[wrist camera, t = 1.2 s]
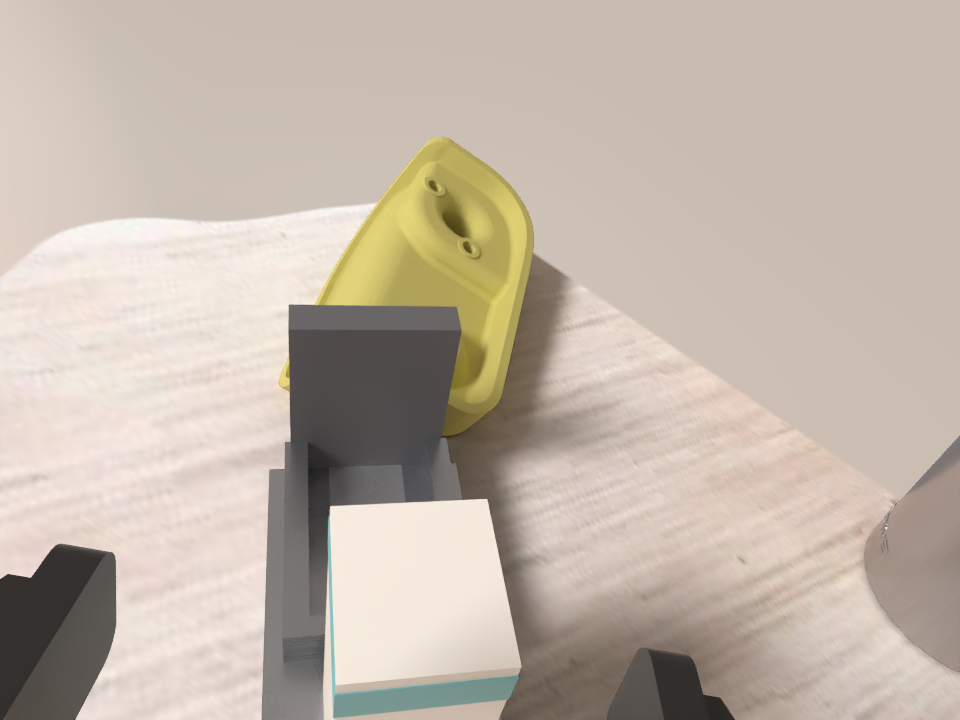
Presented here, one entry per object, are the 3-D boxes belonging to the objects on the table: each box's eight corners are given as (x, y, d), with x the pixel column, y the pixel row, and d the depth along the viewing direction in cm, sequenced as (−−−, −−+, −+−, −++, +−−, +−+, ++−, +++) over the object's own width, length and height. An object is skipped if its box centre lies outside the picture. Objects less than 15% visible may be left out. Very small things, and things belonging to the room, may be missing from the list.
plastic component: (494, 430, 39) (324, 331, 36) (421, 484, 44) (267, 401, 41) (544, 205, 53) (423, 119, 50) (484, 266, 58) (370, 191, 55)
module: (456, 815, 27) (523, 667, 19) (325, 833, 26) (334, 686, 18) (438, 674, 31) (488, 498, 22) (322, 685, 30) (329, 505, 21)
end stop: (432, 481, 39) (461, 330, 32) (291, 487, 38) (288, 329, 30) (429, 458, 40) (456, 306, 33) (291, 462, 39) (288, 304, 31)
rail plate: (512, 833, 28) (531, 803, 26) (259, 870, 26) (254, 842, 24) (452, 481, 39) (461, 437, 37) (270, 488, 37) (268, 442, 35)
